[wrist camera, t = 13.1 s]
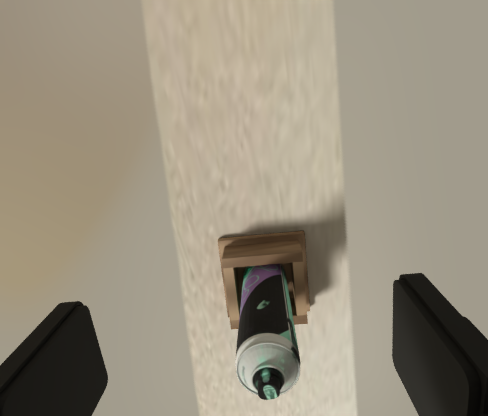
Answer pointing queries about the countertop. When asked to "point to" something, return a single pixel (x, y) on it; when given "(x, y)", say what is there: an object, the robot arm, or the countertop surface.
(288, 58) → the countertop surface
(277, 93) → the countertop surface
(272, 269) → the spray can
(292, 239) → the can holder
